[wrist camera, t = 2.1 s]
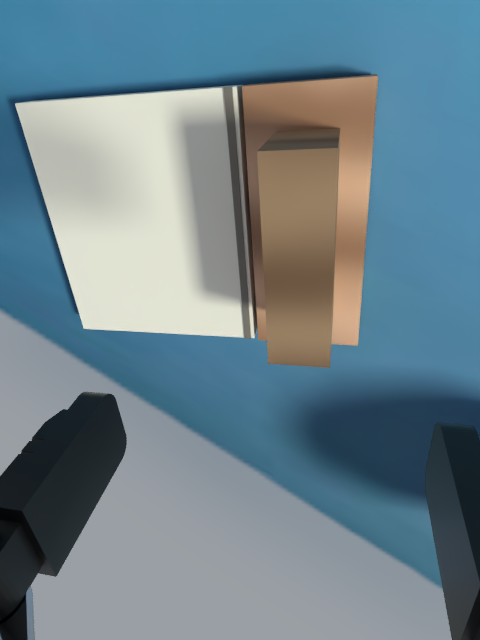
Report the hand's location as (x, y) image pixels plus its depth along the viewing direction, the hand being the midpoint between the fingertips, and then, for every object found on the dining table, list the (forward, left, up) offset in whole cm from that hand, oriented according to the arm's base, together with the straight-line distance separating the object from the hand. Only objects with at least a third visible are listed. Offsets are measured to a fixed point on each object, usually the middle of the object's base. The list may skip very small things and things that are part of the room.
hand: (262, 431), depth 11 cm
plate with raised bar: (0, 0, -16) cm, 16 cm away
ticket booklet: (0, -9, -16) cm, 19 cm away
